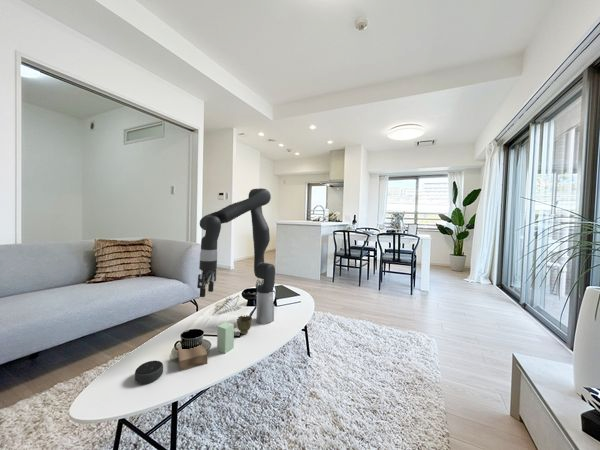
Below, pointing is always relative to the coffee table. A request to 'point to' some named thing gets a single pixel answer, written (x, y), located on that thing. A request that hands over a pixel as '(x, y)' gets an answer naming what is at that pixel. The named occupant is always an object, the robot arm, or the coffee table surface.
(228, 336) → the green block
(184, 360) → the walnut plinth
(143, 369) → the smart speaker
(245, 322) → the cup
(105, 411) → the coffee table surface
